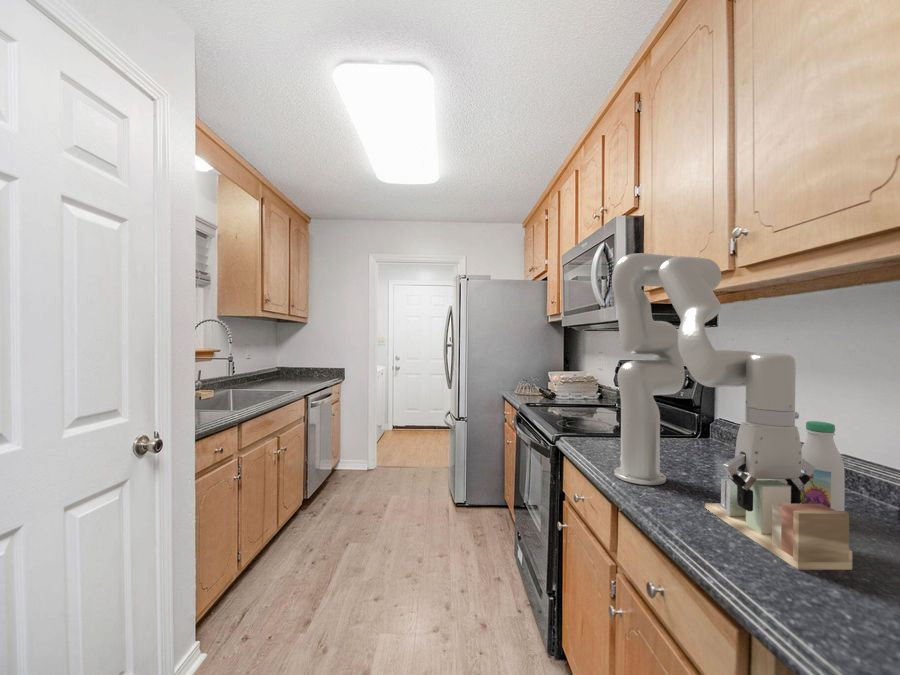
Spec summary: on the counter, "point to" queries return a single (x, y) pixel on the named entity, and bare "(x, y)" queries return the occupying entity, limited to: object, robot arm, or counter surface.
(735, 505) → the bookend
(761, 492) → the pale green block
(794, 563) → the panel
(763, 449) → the robot arm
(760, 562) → the counter surface
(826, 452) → the milk bottle
